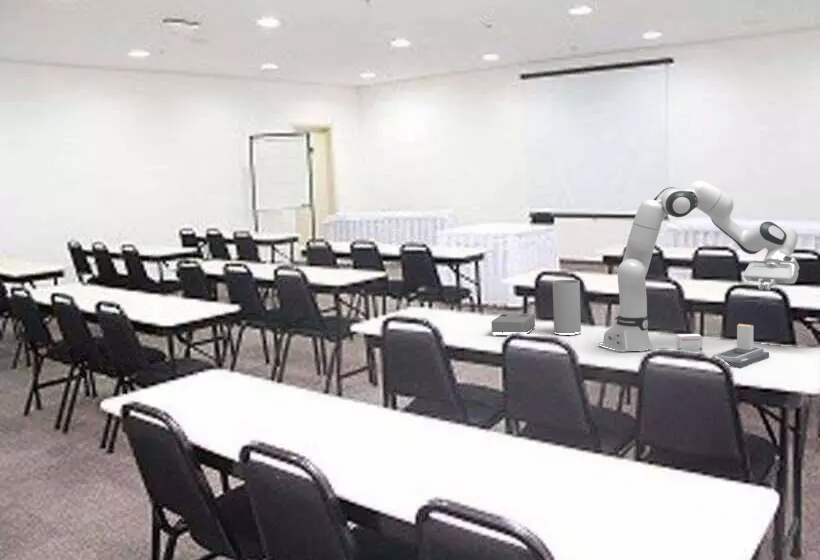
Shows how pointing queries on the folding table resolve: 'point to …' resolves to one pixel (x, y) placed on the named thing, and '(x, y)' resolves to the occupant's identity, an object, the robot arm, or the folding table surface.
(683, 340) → the ink box
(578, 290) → the cylinder vase
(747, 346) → the fader knob
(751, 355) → the fader console
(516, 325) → the projector
